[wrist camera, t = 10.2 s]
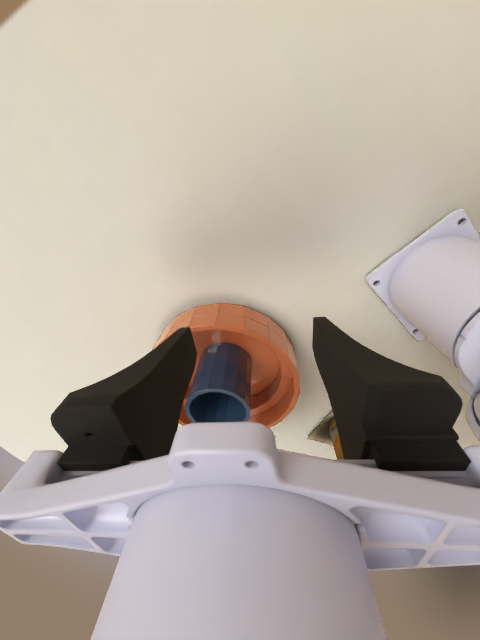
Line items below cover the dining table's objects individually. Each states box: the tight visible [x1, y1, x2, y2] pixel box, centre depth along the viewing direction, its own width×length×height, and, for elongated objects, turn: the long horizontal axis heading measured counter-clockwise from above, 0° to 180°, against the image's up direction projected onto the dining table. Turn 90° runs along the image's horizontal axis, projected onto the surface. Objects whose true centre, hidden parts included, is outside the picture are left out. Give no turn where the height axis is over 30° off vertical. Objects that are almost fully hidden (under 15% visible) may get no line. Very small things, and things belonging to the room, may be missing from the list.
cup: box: [185, 342, 252, 423], centre depth 24 cm, size 6×6×6 cm
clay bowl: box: [152, 303, 300, 428], centre depth 26 cm, size 15×15×4 cm
